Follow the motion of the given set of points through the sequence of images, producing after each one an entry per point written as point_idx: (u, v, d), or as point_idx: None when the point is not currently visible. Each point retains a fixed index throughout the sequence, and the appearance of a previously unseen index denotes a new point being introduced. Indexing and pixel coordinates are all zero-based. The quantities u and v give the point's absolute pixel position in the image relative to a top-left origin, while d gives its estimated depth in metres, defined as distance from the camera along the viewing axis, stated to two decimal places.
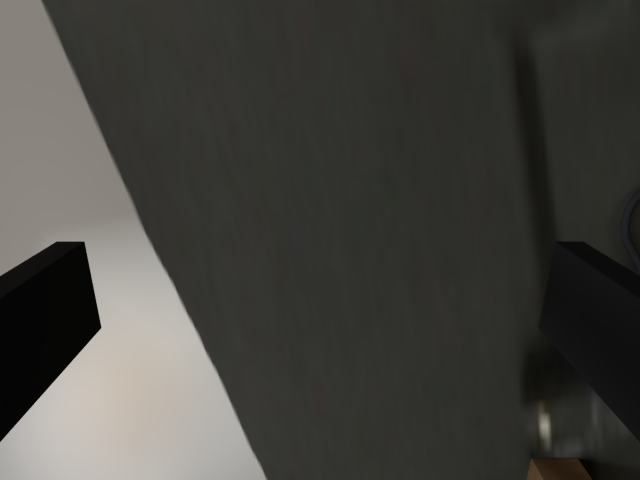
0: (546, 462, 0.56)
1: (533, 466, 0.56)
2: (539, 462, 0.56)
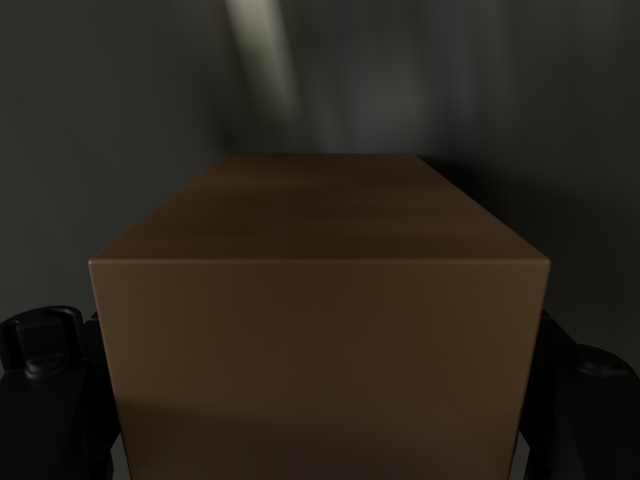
0: (275, 157, 0.13)
1: None
2: (245, 157, 0.13)
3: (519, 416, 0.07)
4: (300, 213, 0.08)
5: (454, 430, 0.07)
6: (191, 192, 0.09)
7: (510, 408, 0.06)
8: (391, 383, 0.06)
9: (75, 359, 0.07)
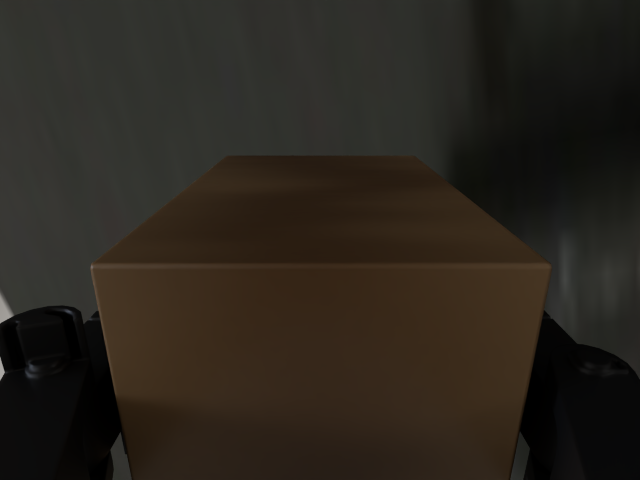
0: (275, 159, 0.13)
1: None
2: (246, 159, 0.13)
3: (519, 419, 0.07)
4: (301, 216, 0.08)
5: (455, 433, 0.07)
6: (192, 195, 0.09)
7: (511, 411, 0.06)
8: (393, 386, 0.06)
9: (75, 359, 0.07)
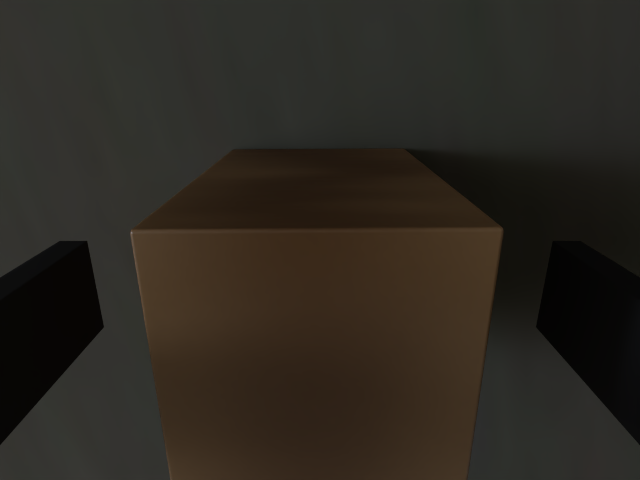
0: (277, 152, 0.15)
1: None
2: (251, 152, 0.15)
3: (482, 360, 0.08)
4: (300, 196, 0.09)
5: (429, 373, 0.08)
6: (206, 181, 0.10)
7: (475, 353, 0.08)
8: (376, 331, 0.08)
9: None
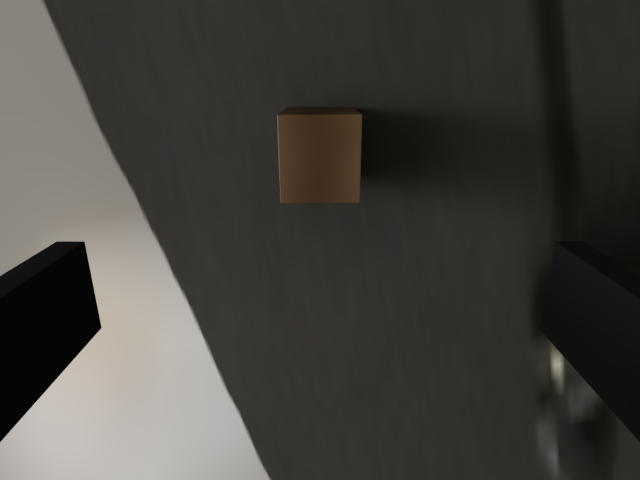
0: None
1: None
2: None
3: (360, 150, 0.32)
4: (315, 112, 0.33)
5: (347, 153, 0.32)
6: (286, 111, 0.34)
7: (358, 147, 0.32)
8: (334, 141, 0.32)
9: None
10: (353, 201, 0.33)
